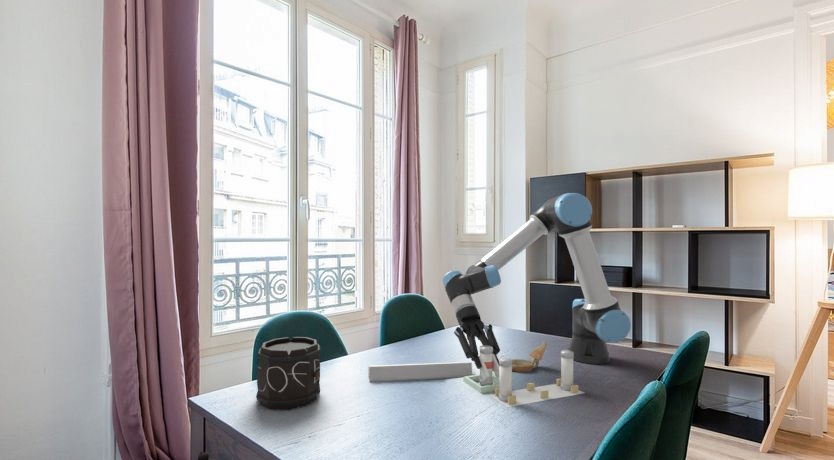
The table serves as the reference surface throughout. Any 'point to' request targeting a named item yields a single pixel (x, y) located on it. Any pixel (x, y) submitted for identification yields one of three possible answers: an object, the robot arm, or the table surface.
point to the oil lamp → (527, 365)
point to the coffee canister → (288, 373)
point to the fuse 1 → (505, 379)
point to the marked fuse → (487, 363)
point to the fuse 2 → (567, 369)
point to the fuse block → (537, 394)
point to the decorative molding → (419, 371)
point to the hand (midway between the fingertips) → (493, 376)
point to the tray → (482, 389)
